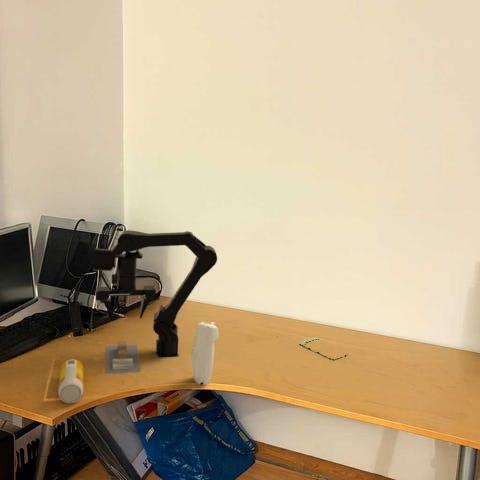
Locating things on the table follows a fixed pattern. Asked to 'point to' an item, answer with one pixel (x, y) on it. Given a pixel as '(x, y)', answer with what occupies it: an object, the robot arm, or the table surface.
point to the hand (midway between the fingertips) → (125, 318)
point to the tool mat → (113, 354)
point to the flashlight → (204, 351)
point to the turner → (122, 357)
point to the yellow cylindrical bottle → (71, 381)
